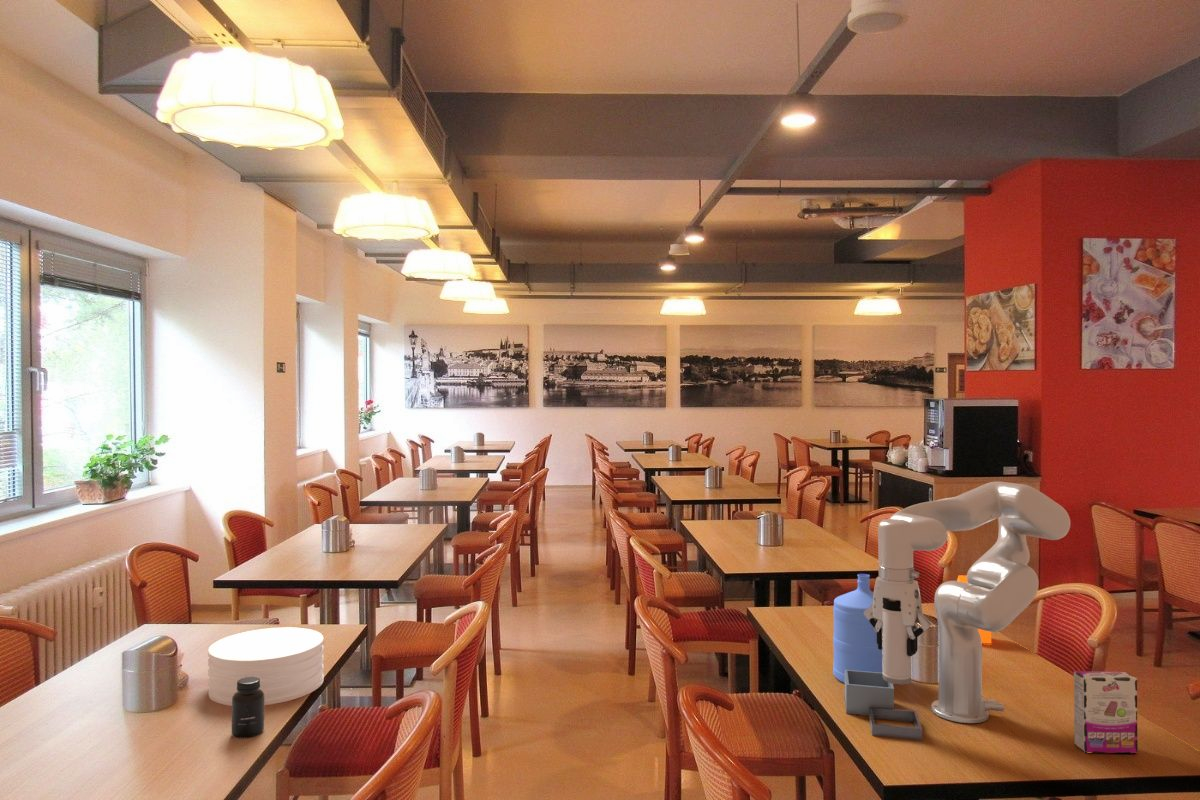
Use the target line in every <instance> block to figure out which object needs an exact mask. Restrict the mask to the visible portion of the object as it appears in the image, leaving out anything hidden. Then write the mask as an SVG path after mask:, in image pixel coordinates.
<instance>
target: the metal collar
mask: <svg viewBox="0 0 1200 800" xmlns="http://www.w3.org/2000/svg"><path fill="white" fill-rule="evenodd" d="M874 718H877V719H876V720H884V719H887V721H896V722H897V721H898V722H907V723H913V725H914V727H912V726H903V725H902V726H901V725H892V724H884V723H883V724H882V723H875V719H874ZM868 720H869V725H870V731H871V736H874V737H876V736H877V737H884V738H895V739H903V740H913V741H914V740H915V741H923V727H922V724H921V721H920V718H919V715H918V711H917V710H909V709H900V708H899V709H898V708H894V709H889V708H879V707H869V716H868Z"/></svg>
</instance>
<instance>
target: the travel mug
mask: <svg viewBox="0 0 1200 800" xmlns="http://www.w3.org/2000/svg"><path fill="white" fill-rule="evenodd" d="M900 607H901V601H897V600H895V601H890V600H888V599H886V598H883V608H882V610H883V611H882V670H883V672H882V673H883V679H884V680H885V681H887V682H889V683H893V685H907V684H910V683H911V682H912V656H908V655H907V639H908V638H909V634H908V632H907V629H906V626H905V625H903V619H902V615H901V613H902V612H901V608H900Z"/></svg>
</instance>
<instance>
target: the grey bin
mask: <svg viewBox="0 0 1200 800" xmlns="http://www.w3.org/2000/svg"><path fill="white" fill-rule="evenodd" d="M844 703H845V706H844V707H845V714H848V715H856V714H860V715H859V716H866V715H868V717H869V707H879V708H889V709H895V688H894V684H893V683H889V682H887V681H885V680H884V679H883V673H880V672H868V671H856V670H845V683H844Z"/></svg>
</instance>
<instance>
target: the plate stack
mask: <svg viewBox="0 0 1200 800" xmlns="http://www.w3.org/2000/svg"><path fill="white" fill-rule="evenodd" d="M324 641H325V638H324V635H323V634H322V633H321V632H319V631H318V630H315V629H310V628H306V627H304V628H303V627H293V626H292V627H291V626H290V627H286V626H285V627H281V626H280V627H269V628H267V627H266V628H261V629H259V628H258V629H254V630H248V631H244V632H238V633H235V634H231V635H228V636H225V637H223V638H220V639H219V640H217V641H215V642H213V643H212V644H211V645H210V646H209V647H208V649H207V650H208V651H207V652H208V653H207V655H208V660H207V663H208V665H207V666H208V670H207V671H208V673H207V675H208V679H207V681H208V682H207V683H208V689H207V690H208V692H207V693H208V698H209V699H210V700H211V701H213V702H214V703H217V704H220V705H224V706H231V707H232V697H233V695H234V694H235V693H236V692H237V681H238V680H240V679H242V678H246V677H258V678H259V679H260V688H259V689H261V690H262V691H263V692H264V706H269V705H274V704H279V703H285V702H289V701H293V700H295V699H298V698H301V697H304V696H307V695H308V694H311V693H313V692H315V691H316V690H317V689H319V688H320V687H321V686H322V685H323V683H324V680H325V677H324V676H325V675H324V670H325V668H324V661H325V660H324V659H325V658H324V651H325V650H324Z"/></svg>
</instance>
